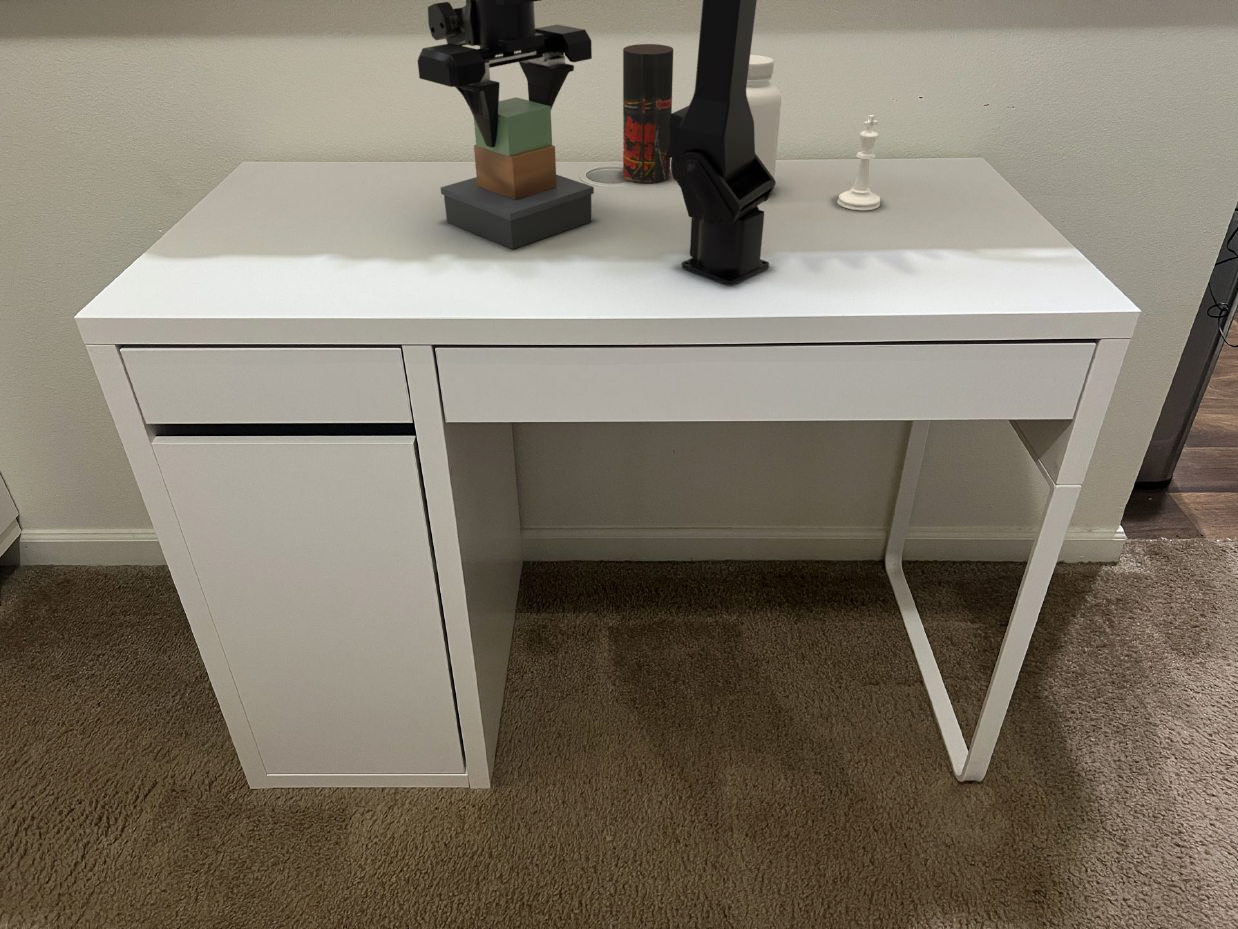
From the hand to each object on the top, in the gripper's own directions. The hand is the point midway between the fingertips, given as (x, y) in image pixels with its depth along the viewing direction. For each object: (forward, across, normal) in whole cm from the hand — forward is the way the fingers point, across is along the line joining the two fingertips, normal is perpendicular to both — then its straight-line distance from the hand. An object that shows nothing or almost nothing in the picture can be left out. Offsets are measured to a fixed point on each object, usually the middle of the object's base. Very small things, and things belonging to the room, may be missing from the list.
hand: (514, 140), depth 99 cm
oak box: (+5, 0, 0) cm, 5 cm away
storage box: (+9, 0, 0) cm, 9 cm away
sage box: (0, 0, 0) cm, 0 cm away
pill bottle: (+9, -26, +11) cm, 30 cm away
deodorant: (+9, -22, -1) cm, 24 cm away
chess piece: (+9, -32, +24) cm, 41 cm away
